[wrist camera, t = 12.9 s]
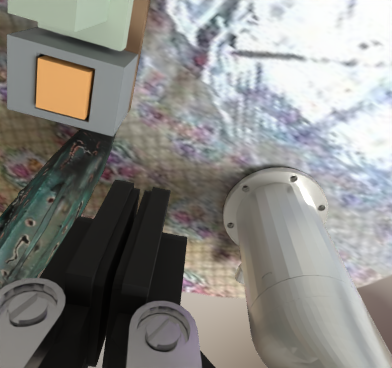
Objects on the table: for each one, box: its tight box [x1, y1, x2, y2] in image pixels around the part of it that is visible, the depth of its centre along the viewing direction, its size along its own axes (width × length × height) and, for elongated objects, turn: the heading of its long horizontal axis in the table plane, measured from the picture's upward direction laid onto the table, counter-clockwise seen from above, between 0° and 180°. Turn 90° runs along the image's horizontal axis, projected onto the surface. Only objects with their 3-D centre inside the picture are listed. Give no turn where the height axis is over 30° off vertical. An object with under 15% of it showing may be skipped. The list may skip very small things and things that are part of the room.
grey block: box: [7, 27, 138, 136], centre depth 31 cm, size 6×9×6 cm, turn 75°
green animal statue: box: [0, 129, 116, 290], centre depth 33 cm, size 20×6×20 cm, turn 145°
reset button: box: [36, 55, 95, 120], centre depth 30 cm, size 4×4×5 cm
